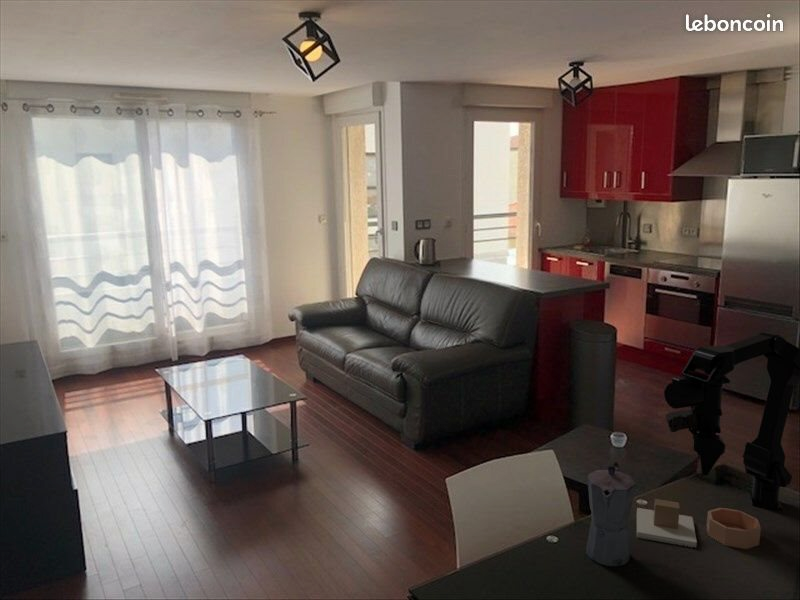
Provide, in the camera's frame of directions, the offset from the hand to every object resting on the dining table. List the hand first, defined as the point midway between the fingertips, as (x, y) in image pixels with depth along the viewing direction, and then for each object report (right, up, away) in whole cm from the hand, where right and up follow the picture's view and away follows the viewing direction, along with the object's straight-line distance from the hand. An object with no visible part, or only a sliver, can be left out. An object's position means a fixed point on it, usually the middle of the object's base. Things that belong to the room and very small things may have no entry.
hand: (702, 466), depth 147 cm
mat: (-10, -13, -4) cm, 17 cm away
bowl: (+4, -14, -6) cm, 16 cm away
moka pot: (-27, -15, -14) cm, 34 cm away
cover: (-10, -13, -4) cm, 17 cm away
